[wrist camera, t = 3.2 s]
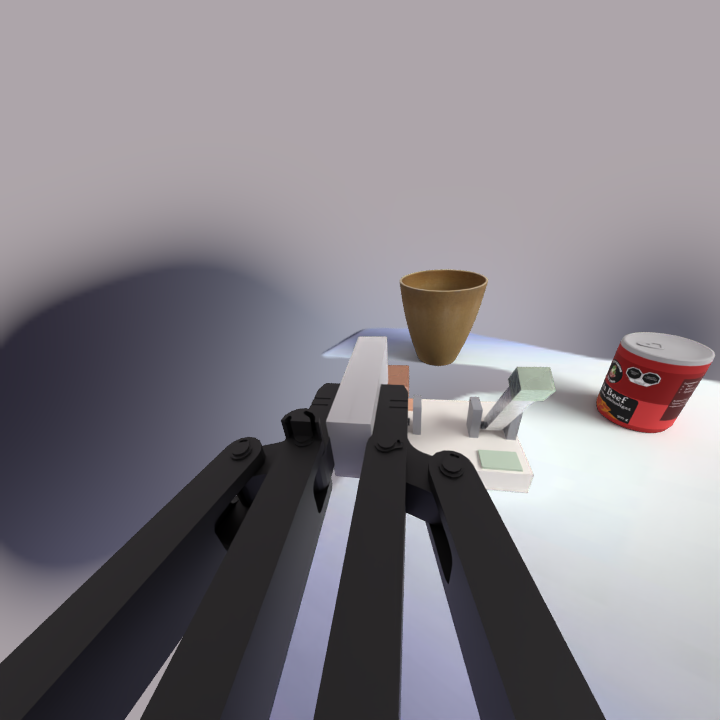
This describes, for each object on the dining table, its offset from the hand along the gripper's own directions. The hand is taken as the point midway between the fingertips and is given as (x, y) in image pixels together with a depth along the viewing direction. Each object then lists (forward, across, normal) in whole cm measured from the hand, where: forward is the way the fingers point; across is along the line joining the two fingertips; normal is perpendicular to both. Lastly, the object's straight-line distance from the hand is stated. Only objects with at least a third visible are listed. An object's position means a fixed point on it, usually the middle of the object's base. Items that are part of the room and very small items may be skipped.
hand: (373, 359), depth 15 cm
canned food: (+23, +32, -22) cm, 45 cm away
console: (+15, +6, -22) cm, 27 cm away
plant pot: (+39, +7, -22) cm, 45 cm away
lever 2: (+15, +12, -18) cm, 26 cm away
